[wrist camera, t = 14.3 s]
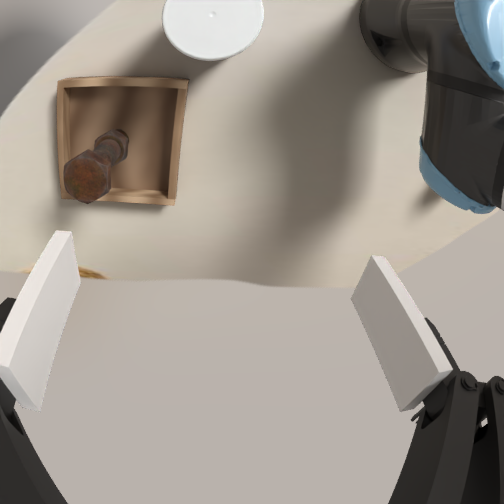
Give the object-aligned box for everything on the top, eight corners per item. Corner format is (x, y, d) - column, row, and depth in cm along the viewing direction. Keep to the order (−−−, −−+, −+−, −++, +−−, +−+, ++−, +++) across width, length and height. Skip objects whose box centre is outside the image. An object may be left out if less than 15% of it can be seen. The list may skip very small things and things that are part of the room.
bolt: (111, 161, 42) (76, 211, 30) (95, 133, 39) (52, 173, 27) (144, 144, 42) (118, 188, 30) (129, 114, 39) (94, 146, 27)
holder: (189, 79, 38) (187, 81, 35) (176, 195, 48) (174, 205, 45) (67, 78, 34) (57, 81, 32) (69, 188, 45) (61, 198, 42)
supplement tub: (264, 20, 34) (289, 8, 22) (220, 71, 38) (225, 81, 26) (205, -17, 30) (203, -47, 18) (162, 36, 34) (139, 30, 22)
